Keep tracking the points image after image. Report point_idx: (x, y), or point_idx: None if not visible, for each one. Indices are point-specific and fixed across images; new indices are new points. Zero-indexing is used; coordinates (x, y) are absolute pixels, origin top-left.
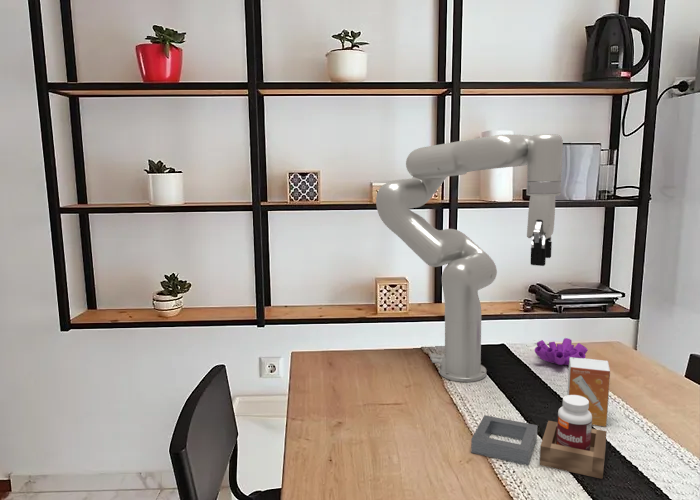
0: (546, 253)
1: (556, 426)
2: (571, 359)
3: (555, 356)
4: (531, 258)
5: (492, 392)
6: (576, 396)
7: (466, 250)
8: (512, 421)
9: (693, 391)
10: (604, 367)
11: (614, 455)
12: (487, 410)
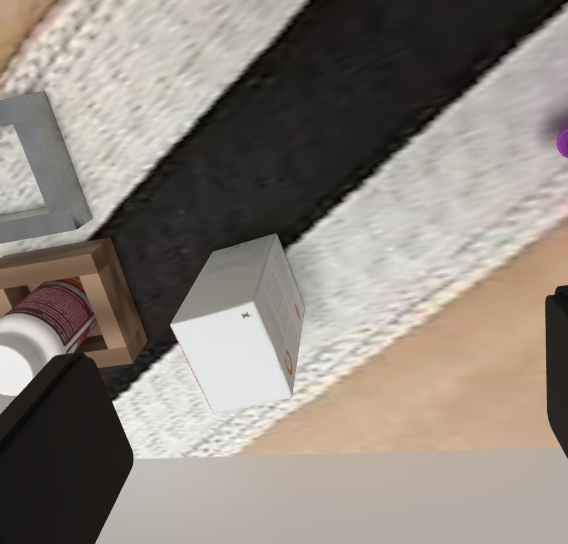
0: (566, 419)
1: (79, 276)
2: (231, 312)
3: (564, 129)
4: (22, 401)
5: (259, 2)
6: (21, 368)
7: None
8: (49, 172)
9: (554, 445)
10: (229, 399)
11: (139, 356)
12: (136, 50)
